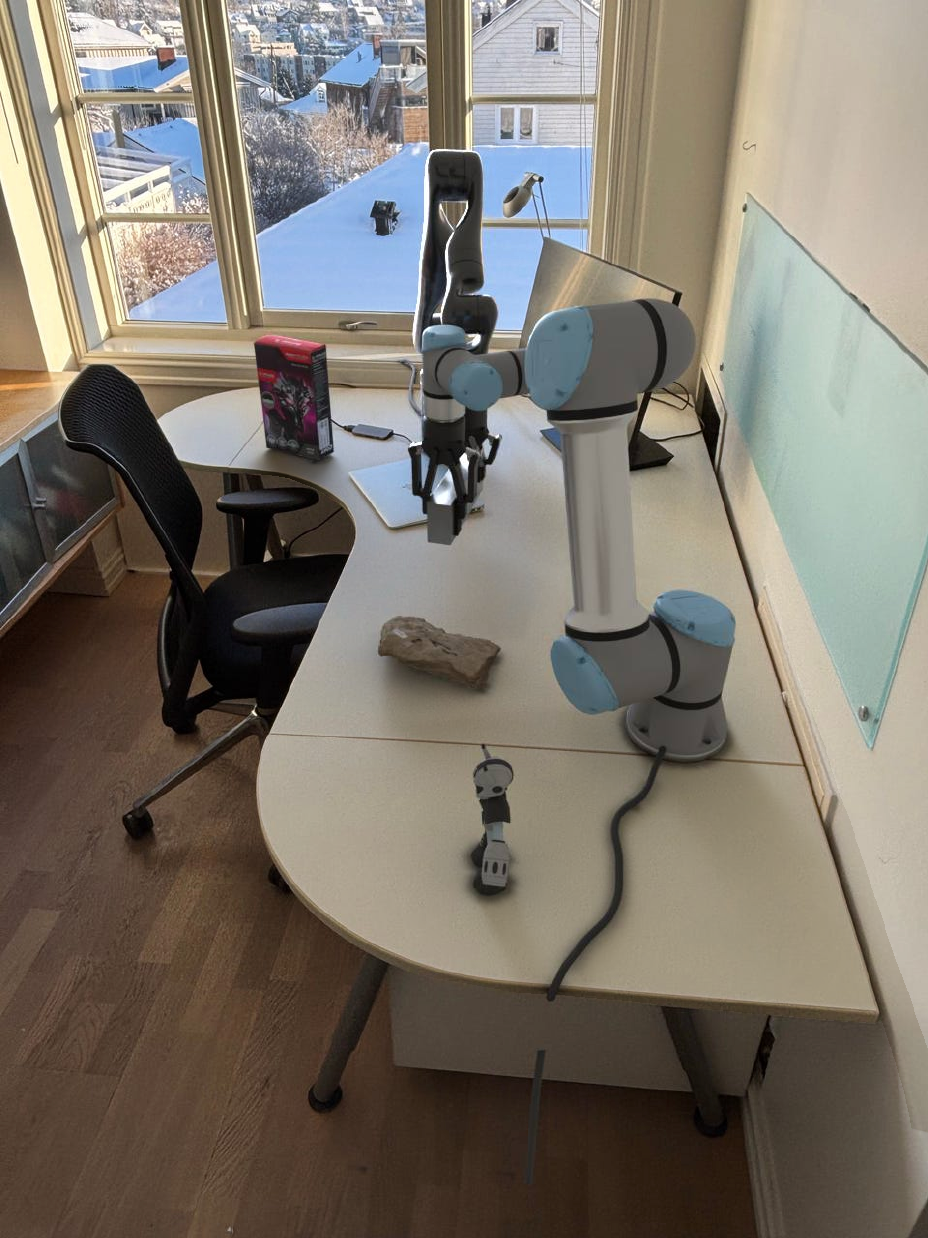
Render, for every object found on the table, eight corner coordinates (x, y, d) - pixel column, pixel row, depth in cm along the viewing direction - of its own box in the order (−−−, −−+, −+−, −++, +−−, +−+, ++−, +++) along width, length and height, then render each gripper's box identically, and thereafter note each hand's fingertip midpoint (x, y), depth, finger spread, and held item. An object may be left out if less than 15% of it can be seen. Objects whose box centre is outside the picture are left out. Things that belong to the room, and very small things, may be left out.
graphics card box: (263, 448, 231) (250, 340, 216) (280, 439, 236) (269, 332, 221) (320, 462, 224) (310, 351, 209) (336, 452, 230) (328, 343, 214)
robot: (515, 932, 112) (522, 815, 100) (475, 934, 111) (478, 816, 100) (502, 814, 128) (507, 701, 117) (467, 815, 128) (468, 702, 117)
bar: (450, 545, 175) (450, 505, 170) (427, 542, 176) (426, 502, 171) (482, 489, 194) (483, 452, 190) (461, 486, 195) (462, 449, 191)
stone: (354, 663, 151) (360, 631, 149) (385, 632, 165) (392, 602, 162) (474, 706, 148) (483, 673, 145) (496, 671, 161) (504, 640, 159)
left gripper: (508, 397, 181) (505, 476, 191) (438, 389, 184) (439, 468, 194) (499, 410, 175) (497, 492, 185) (427, 402, 178) (428, 483, 188)
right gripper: (497, 412, 166) (493, 527, 179) (403, 402, 169) (407, 515, 182) (486, 428, 160) (484, 546, 173) (390, 417, 163) (394, 533, 176)
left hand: (467, 479), depth 189 cm, fingers closed on bar, 4 cm apart
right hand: (444, 530), depth 178 cm, fingers closed on bar, 5 cm apart
